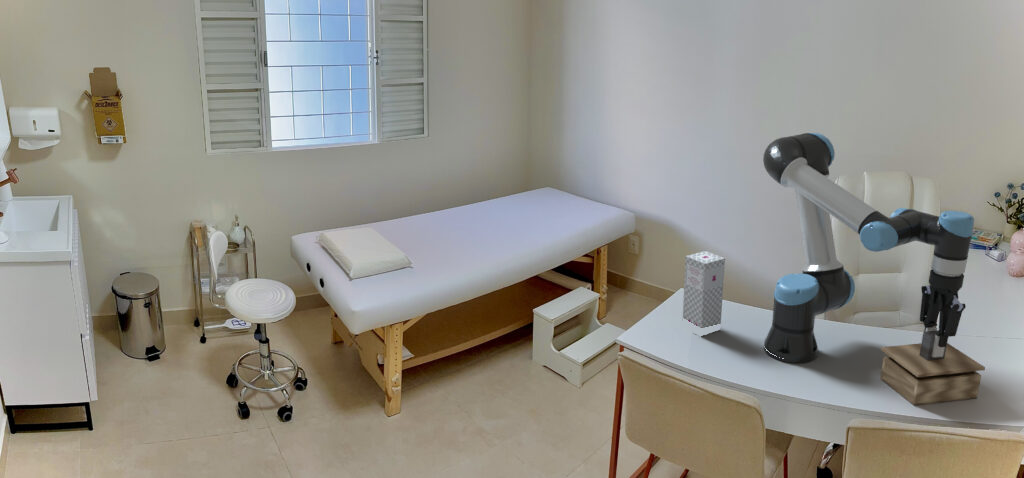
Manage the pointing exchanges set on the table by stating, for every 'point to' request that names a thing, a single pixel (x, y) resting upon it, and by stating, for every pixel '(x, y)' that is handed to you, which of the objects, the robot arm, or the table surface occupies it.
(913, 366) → the lid
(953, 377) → the wooden box
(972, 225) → the robot arm
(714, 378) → the table surface
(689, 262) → the box
